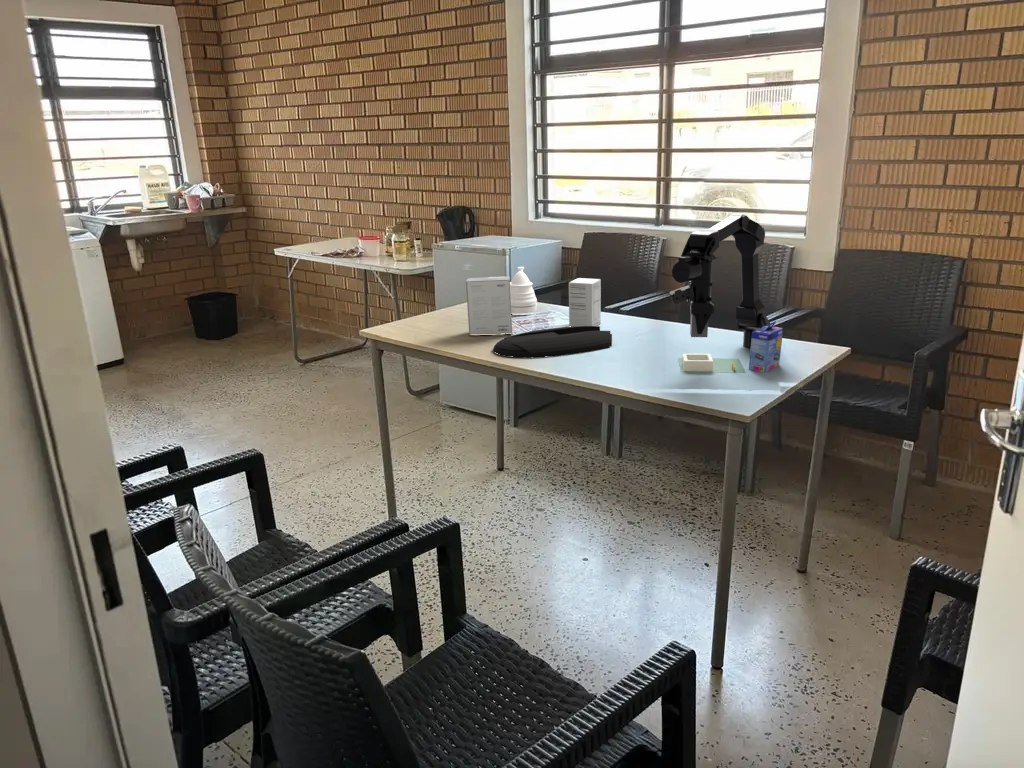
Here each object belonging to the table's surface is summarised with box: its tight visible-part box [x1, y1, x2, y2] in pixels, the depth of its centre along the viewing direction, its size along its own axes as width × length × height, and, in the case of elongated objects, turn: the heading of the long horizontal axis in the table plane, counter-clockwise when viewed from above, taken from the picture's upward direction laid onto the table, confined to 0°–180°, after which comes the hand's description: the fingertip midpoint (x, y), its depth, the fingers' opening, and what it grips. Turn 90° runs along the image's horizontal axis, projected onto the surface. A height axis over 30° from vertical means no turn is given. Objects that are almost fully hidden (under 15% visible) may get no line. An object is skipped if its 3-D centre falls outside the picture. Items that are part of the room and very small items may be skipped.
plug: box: [689, 313, 709, 338], centre depth 215 cm, size 4×4×7 cm
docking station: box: [492, 325, 613, 358], centre depth 251 cm, size 25×40×5 cm, turn 111°
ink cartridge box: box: [748, 320, 784, 373], centre depth 215 cm, size 10×6×14 cm, turn 138°
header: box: [681, 353, 713, 371], centre depth 218 cm, size 8×8×3 cm
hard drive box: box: [465, 275, 513, 335], centre depth 268 cm, size 16×8×20 cm, turn 89°
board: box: [677, 357, 747, 374], centre depth 220 cm, size 15×18×2 cm
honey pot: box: [510, 266, 538, 313], centre depth 301 cm, size 13×13×18 cm
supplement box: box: [568, 277, 602, 327], centre depth 276 cm, size 10×9×17 cm
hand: (698, 331), depth 216 cm, fingers closed on plug, 4 cm apart
